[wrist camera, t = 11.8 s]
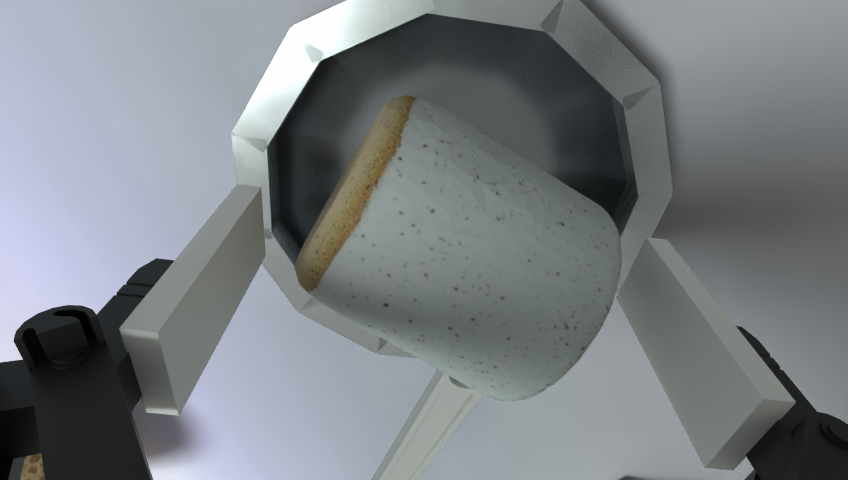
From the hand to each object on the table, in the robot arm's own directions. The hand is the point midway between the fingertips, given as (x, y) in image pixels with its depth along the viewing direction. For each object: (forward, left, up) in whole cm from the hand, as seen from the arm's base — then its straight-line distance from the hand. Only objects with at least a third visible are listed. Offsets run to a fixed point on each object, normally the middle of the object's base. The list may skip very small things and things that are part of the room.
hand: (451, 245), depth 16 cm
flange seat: (0, 0, -4) cm, 4 cm away
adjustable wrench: (-1, +21, -4) cm, 22 cm away
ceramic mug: (+1, +1, -3) cm, 4 cm away
